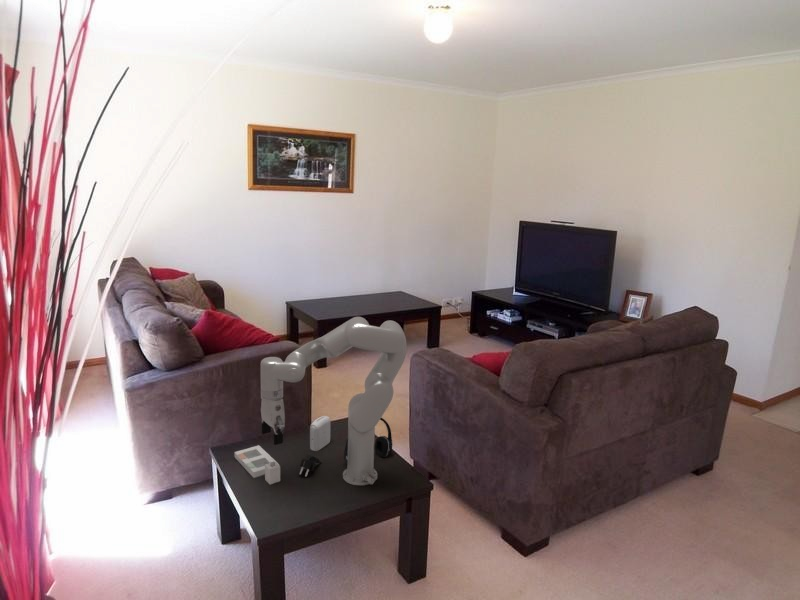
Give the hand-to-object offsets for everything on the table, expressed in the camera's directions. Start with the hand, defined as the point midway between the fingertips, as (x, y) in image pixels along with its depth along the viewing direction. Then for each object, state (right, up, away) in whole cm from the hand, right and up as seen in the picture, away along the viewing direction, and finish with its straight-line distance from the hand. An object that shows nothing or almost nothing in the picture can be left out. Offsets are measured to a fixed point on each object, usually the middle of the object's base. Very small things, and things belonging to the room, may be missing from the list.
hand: (272, 438), depth 191 cm
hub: (-9, -13, +14) cm, 21 cm away
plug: (-1, -16, +3) cm, 16 cm away
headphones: (+33, -14, +21) cm, 41 cm away
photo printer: (+13, -11, +30) cm, 34 cm away
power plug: (+14, -16, +15) cm, 26 cm away
